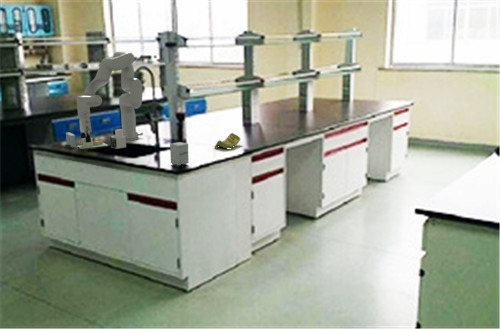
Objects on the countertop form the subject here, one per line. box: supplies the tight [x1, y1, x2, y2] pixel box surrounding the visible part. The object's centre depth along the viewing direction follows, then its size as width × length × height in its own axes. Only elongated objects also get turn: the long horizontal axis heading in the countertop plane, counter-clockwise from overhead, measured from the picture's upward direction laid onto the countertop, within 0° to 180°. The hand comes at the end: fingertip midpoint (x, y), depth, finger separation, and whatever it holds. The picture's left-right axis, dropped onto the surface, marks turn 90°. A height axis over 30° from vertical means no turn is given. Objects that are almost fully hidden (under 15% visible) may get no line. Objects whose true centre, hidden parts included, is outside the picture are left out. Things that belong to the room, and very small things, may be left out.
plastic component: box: [214, 132, 241, 149], centre depth 354 cm, size 20×7×10 cm
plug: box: [80, 137, 104, 147], centre depth 354 cm, size 14×4×5 cm, turn 123°
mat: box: [76, 142, 109, 150], centre depth 355 cm, size 18×9×1 cm, turn 123°
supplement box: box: [169, 141, 189, 165], centre depth 304 cm, size 7×7×13 cm
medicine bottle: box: [109, 128, 127, 150], centre depth 350 cm, size 7×7×12 cm
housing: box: [65, 132, 77, 148], centre depth 355 cm, size 2×12×8 cm, turn 34°
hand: (86, 141), depth 352 cm, fingers open, 9 cm apart
